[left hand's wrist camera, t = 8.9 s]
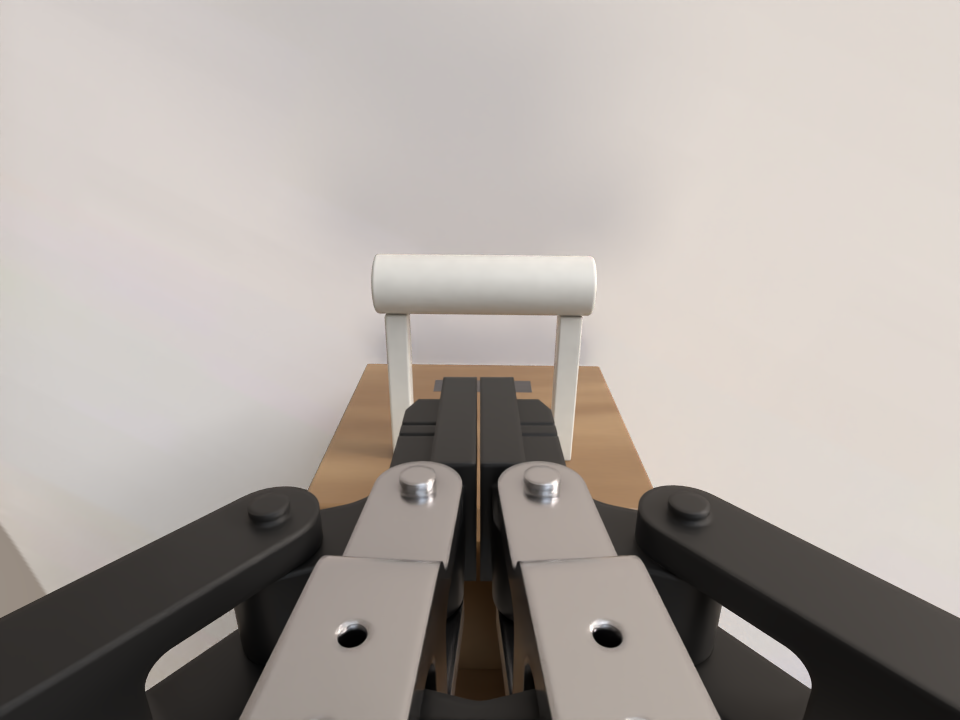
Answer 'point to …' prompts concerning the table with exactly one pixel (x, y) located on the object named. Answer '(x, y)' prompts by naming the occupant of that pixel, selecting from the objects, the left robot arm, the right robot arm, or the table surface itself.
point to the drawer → (397, 385)
